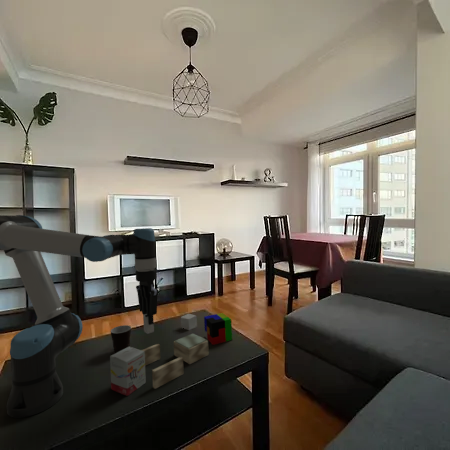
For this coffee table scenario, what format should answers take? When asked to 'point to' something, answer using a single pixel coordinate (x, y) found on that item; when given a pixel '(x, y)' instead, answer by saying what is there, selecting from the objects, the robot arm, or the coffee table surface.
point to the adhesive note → (189, 321)
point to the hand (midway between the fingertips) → (149, 331)
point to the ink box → (127, 370)
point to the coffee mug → (121, 337)
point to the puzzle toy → (218, 328)
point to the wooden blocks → (185, 351)
